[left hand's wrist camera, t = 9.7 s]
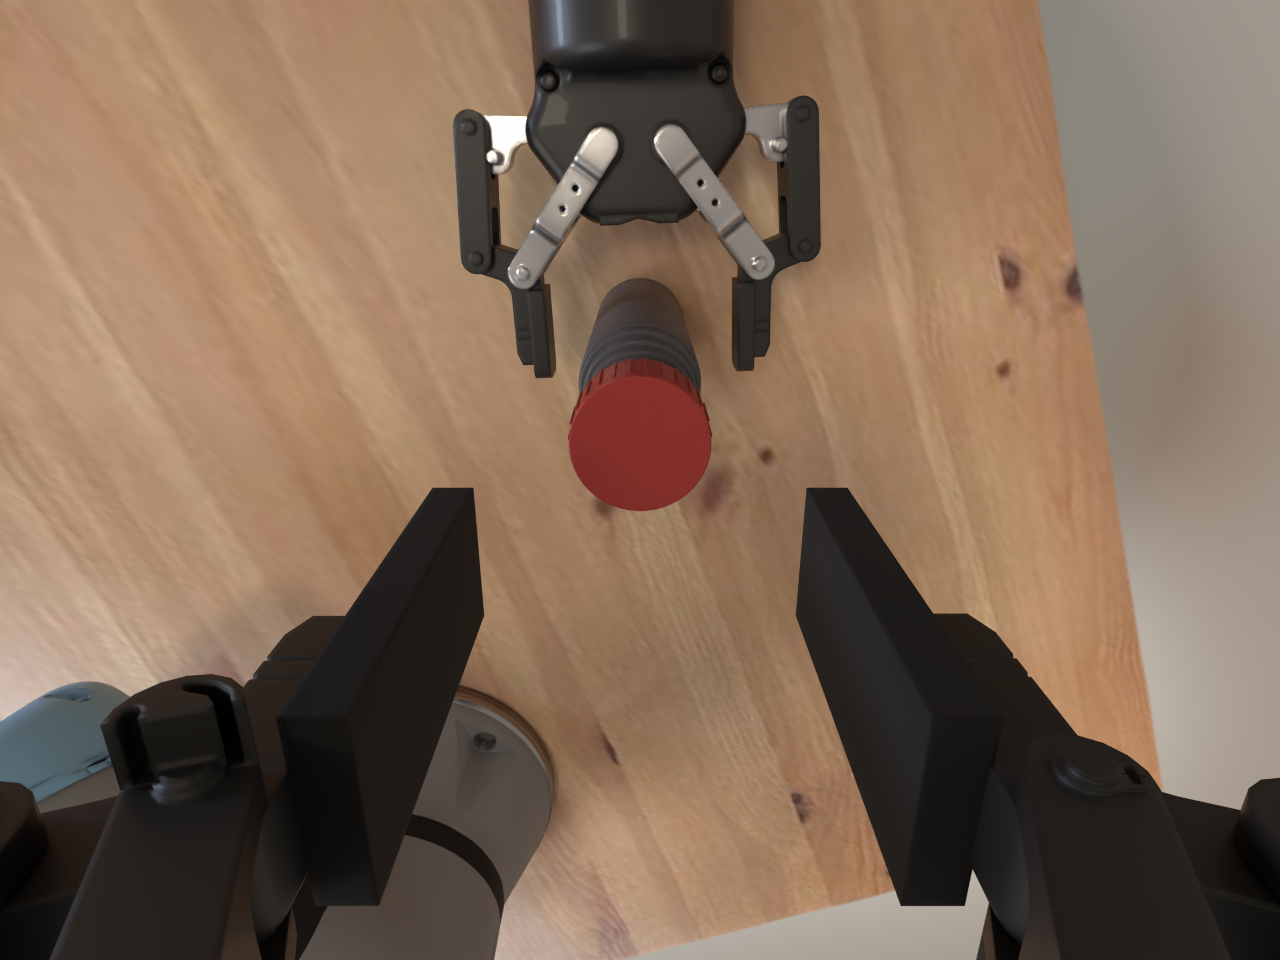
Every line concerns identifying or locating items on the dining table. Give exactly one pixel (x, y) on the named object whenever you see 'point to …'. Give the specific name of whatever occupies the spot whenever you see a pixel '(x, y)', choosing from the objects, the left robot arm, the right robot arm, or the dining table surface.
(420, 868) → the left robot arm
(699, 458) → the cap
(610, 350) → the bottle
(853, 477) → the dining table surface
